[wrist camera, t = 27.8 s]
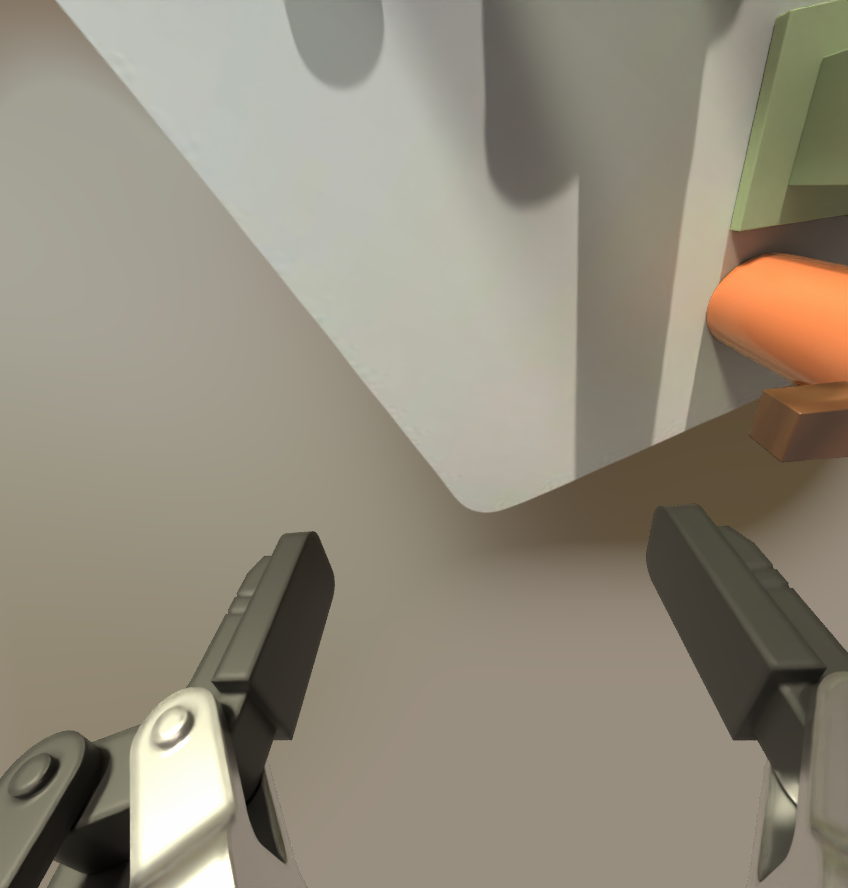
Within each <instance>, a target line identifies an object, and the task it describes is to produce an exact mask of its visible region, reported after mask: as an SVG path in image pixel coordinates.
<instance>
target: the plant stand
mask: <svg viewBox="0 0 848 888" xmlns="http://www.w3.org/2000/svg"><path fill="white" fill-rule="evenodd" d="M842 215H848V0H834V1H830V2H825V3H821V4H816V5H812V6H807V7H802V8H798V9H793V10H790V11H788V12H786V13H784V14H782V15H780V16H779V17H777V18H776V22H775V27H774V31H773V36H772V41H771V45H770V50H769V54H768V59H767V63H766V68H765V72H764V77H763V82H762V86H761V91H760V95H759V100H758V104H757V109H756V114H755V118H754V123H753V127H752V132H751V136H750V141H749V146H748V150H747V155H746V159H745V164H744V168H743V173H742V177H741V182H740V187H739V191H738V196H737V200H736V205H735V209H734V214H733V219H732V223H731V228H730V230H733V231H746V230H753V229H759V228H765V227H772V226H778V225H785V224H791V223H797V222H804V221H810V220H817V219H823V218H829V217H836V216H842Z"/></svg>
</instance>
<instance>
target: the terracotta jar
mask: <svg viewBox="0 0 848 888" xmlns="http://www.w3.org/2000/svg"><path fill="white" fill-rule="evenodd" d="M707 325H708V328H709V331H710V333H711V334H712V335H713V337H714V338H716V339H717V340H718V341H720V342H721V343H723V344H725V345H727V346H728V347H730V348H732V349H733V350H735V351H737V352H739V353H740V354H742V355H744V356H746V357H747V358H749V359H751V360H753V361H754V362H756V363H758V364H760V365H761V366H763V367H765V368H767V369H768V370H770V371H772V372H774V373H775V374H777V375H779V376H781V377H782V378H784V379H786V380H788V381H789V382H791V383H793V384H795V385H796V386H803V385H812V384H822V383H831V382H841V381H848V265H844V264H839V263H833V262H828V261H823V260H818V259H813V258H808V257H803V256H798V255H793V254H788V253H780V252H775V253H767V254H763V255H759V256H756V257H754V258H751V259H749V260H747V261H745V262H744V263H742V264H741V265H739V266H737V267H736V268H735V269H734V270H732V271H731V272H730V273H729V274H728V275H727V276H726V277H725V278H724V279H723V280H722V281H721V282H720V284H719V285H718V287H717V288H716V289H715V291H714V293H713V295H712V297H711V299H710V301H709V305H708V308H707Z"/></svg>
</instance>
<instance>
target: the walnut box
mask: <svg viewBox="0 0 848 888" xmlns="http://www.w3.org/2000/svg"><path fill="white" fill-rule="evenodd" d="M749 436H750V437H751V438H752V439H754V440H755V441H756V442H757V443H758V444H760V445H761V446H762V447H763V448H764V449H766V450H767V451H768V452H769V453H770V454H772V455H773V456H774V457H775V458H777V459H778V460H779V461H780V462H793V461H805V460H816V459H828V458H840V457H848V381H841V382H831V383H822V384H812V385H803V386H795V387H784V388H775V389H766V390H763V392H762V395H761V398H760V401H759V404H758V408H757V411H756V414H755V417H754V420H753V423H752V426H751V429H750V433H749Z"/></svg>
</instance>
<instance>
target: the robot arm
mask: <svg viewBox="0 0 848 888" xmlns="http://www.w3.org/2000/svg"><path fill="white" fill-rule="evenodd" d="M646 561H647V568H648V572H649V575H650V577H651V580H652V582H653V584H654V586H655V588H656V590H657V592H658V594H659V596H660V598H661V600H662V602H663V604H664V606H665V608H666V610H667V612H668V614H669V616H670V618H671V620H672V621H673V624H674V626H675V628H676V629H677V631H678V633H679V635H680V637H681V639H682V641H683V643H684V645H685V647H686V649H687V651H688V653H689V655H690V657H691V659H692V661H693V663H694V665H695V667H696V669H697V671H698V673H699V674H700V677H701V678H702V680H703V682H704V684H705V686H706V688H707V690H708V692H709V694H710V696H711V698H712V700H713V702H714V704H715V706H716V708H717V710H718V712H719V714H720V716H721V718H722V720H723V722H724V723H725V725H726V727H727V729H728V731H729V733H730V735H731V737H732V739H733V740H758V742H759V744H760V746H761V747H762V749H763V751H764V753H765V755H766V756H767V758H768V759H767V761H766V763H765V767H764V774H763V780H762V787H761V794H760V801H759V808H758V815H757V821H756V828H755V835H754V842H753V850H752V856H751V863H750V870H749V875H748V880H747V885H746V888H848V652H847V651H846V650H845V649H844V648H843V647H842V645H841V644H839V642H838V641H837V640H836V638H835V637H834V636H833V635H832V634H831V632H830V631H829V630H828V629H827V628H826V627H825V625H823V623H822V622H821V621H820V620H819V618H818V617H817V616H816V615H815V614H814V613H813V611H811V609H810V608H809V607H808V606H807V604H806V603H805V602H804V601H803V600H802V599H801V597H800V596H799V595H798V594H797V593H796V591H795V590H794V589H793V588H789V586H788V582H787V581H786V580H785V579H784V577H783V576H782V575H781V574H780V573H779V572H778V570H777V569H774V568H773V565H772V563H771V562H770V561H769V560H768V559H767V557H766V556H765V555H764V554H763V553H762V552H761V551H760V549H759V548H758V547H757V546H756V545H755V544H754V543H753V542H752V541H750V540H749V539H747V538H746V537H744V536H743V535H741V534H740V533H738V532H737V531H735V530H734V529H732V528H731V527H729V526H716V525H715V524H714V523H713V521H712V520H711V519H710V517H709V516H708V515H707V514H706V512H705V511H704V510H703V509H702V508H701V507H700V506H699V505H697V504H682V505H668V506H658V507H657V508H656V509H655V512H654V516H653V521H652V526H651V531H650V536H649V542H648V547H647V552H646ZM334 587H335V581H334V574H333V571H332V568H331V566H330V563H329V561H328V558H327V556H326V553H325V551H324V548H323V546H322V543H321V541H320V538H319V536H318V535H317V533H316V532H313V531H312V532H298V533H286V534H284V535H282V536H281V538H280V539H279V541H278V544H277V546H276V548H275V550H274V552H273V554H272V556H264V557H263V558H262V559H261V560H260V561H259V562H258V563H257V564H256V565H255V566H254V567H253V568H252V569H251V570H250V571H249V572H248V573H247V575H246V577H245V579H244V581H243V583H242V585H241V586H240V588H239V590H238V592H237V597H235V598H234V600H233V602H232V604H231V605H230V608H229V609H228V611H229V612H228V614H226V615H225V617H224V619H223V621H222V623H221V625H220V626H219V628H218V630H217V632H216V634H215V636H214V638H213V640H212V641H211V644H210V645H209V647H208V649H207V651H206V653H205V655H204V657H203V659H202V660H201V662H200V664H199V666H198V668H197V670H196V672H195V674H194V676H193V678H192V679H191V681H190V683H189V684H188V686H187V687H186V688H185V689H182V690H180V691H178V692H176V693H174V694H172V695H170V696H169V697H168V698H166V699H164V700H163V701H162V702H161V703H160V704H158V705H157V706H156V707H155V708H154V709H153V711H151V712H150V714H149V715H148V716H147V717H146V718H145V720H144V721H143V723H142V724H140V725H137V726H135V727H132V728H129V729H126V730H124V731H121V732H118V733H116V734H113V735H111V736H108V737H105V738H102V739H99V740H97V741H94V742H90V741H89V740H88V739H86V738H85V737H84V736H82V735H81V734H80V733H78V732H75V731H63V732H60V733H56V734H53V735H51V736H49V737H47V738H45V739H44V740H42V741H40V742H39V743H37V744H36V745H34V746H33V747H32V748H30V749H29V750H28V751H26V753H24V754H23V755H22V756H21V757H20V758H19V759H18V760H16V761H15V762H14V763H13V764H12V766H11V767H10V768H9V769H8V770H7V771H6V772H5V774H4V775H3V776H2V777H1V779H0V888H38V887H39V885H40V883H41V881H42V879H43V878H44V876H45V874H46V872H47V870H48V868H49V867H50V865H51V863H52V861H53V860H54V861H56V862H58V863H60V864H59V866H58V868H57V870H56V872H55V874H54V875H53V877H52V879H51V881H50V883H49V885H48V886H47V888H308V887H307V885H306V883H305V881H304V879H303V877H302V875H301V873H300V871H299V868H298V866H297V863H296V860H295V857H294V853H293V849H292V846H291V842H290V839H289V835H288V831H287V828H286V824H285V820H284V816H283V813H282V809H281V805H280V802H279V798H278V795H277V791H276V787H275V784H274V780H273V776H272V773H271V769H270V765H269V763H268V760H267V757H268V754H269V751H270V748H271V745H272V742H273V740H292V738H293V734H294V731H295V728H296V724H297V721H298V717H299V714H300V710H301V707H302V703H303V700H304V696H305V693H306V689H307V686H308V683H309V679H310V676H311V672H312V669H313V665H314V662H315V658H316V654H317V651H318V648H319V644H320V640H321V637H322V634H323V630H324V627H325V623H326V620H327V616H328V613H329V609H330V606H331V602H332V599H333V595H334Z"/></svg>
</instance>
